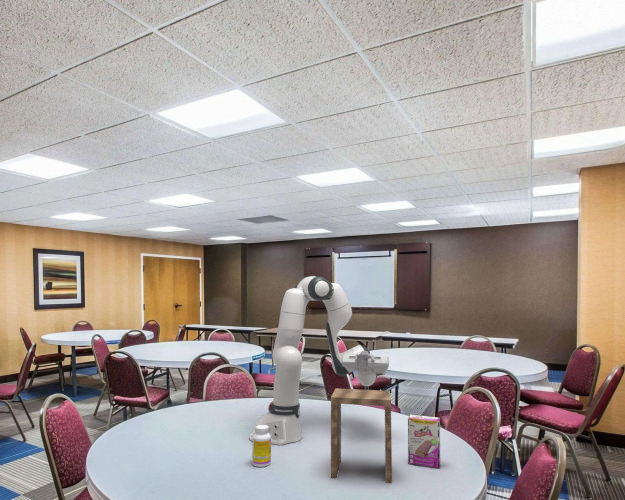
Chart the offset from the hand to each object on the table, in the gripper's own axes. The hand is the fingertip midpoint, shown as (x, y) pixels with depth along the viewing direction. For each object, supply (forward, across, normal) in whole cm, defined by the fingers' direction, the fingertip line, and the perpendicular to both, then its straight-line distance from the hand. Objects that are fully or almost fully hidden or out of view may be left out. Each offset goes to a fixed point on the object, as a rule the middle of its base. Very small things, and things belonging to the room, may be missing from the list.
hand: (364, 354), depth 169 cm
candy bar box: (-6, +22, +39) cm, 45 cm away
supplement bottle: (+3, -36, +44) cm, 57 cm away
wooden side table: (+3, 0, +44) cm, 44 cm away
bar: (+5, 0, +5) cm, 7 cm away
